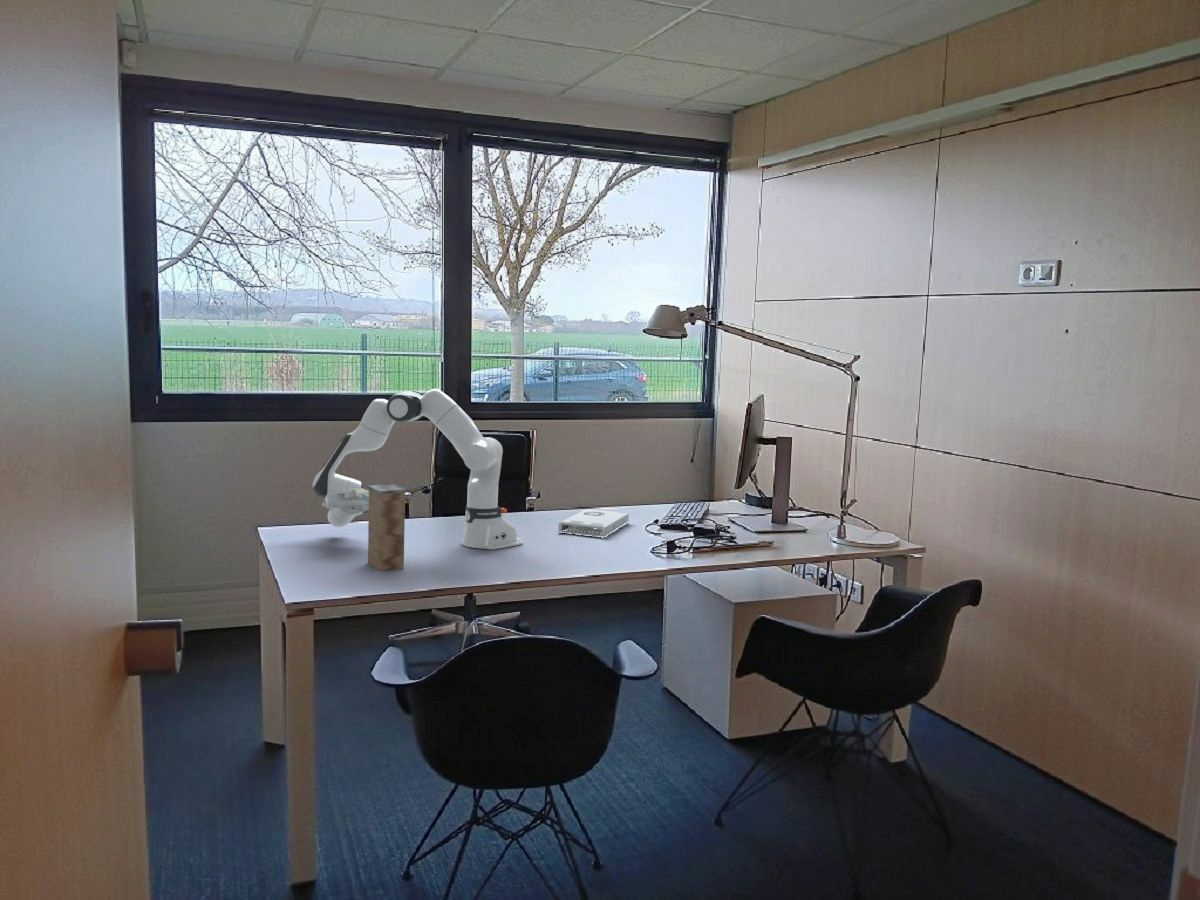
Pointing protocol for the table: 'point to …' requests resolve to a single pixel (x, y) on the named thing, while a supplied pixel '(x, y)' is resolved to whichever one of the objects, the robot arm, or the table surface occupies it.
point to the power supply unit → (593, 522)
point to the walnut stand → (386, 526)
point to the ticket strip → (362, 494)
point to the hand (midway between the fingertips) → (360, 491)
